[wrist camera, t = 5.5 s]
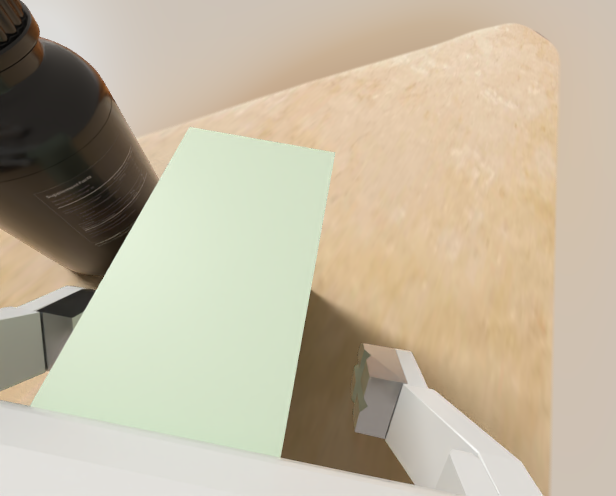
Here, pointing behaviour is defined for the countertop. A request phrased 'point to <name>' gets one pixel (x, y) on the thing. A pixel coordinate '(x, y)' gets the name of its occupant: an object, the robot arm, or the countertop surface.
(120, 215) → the supplement bottle
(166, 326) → the pale green block
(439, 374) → the countertop surface
